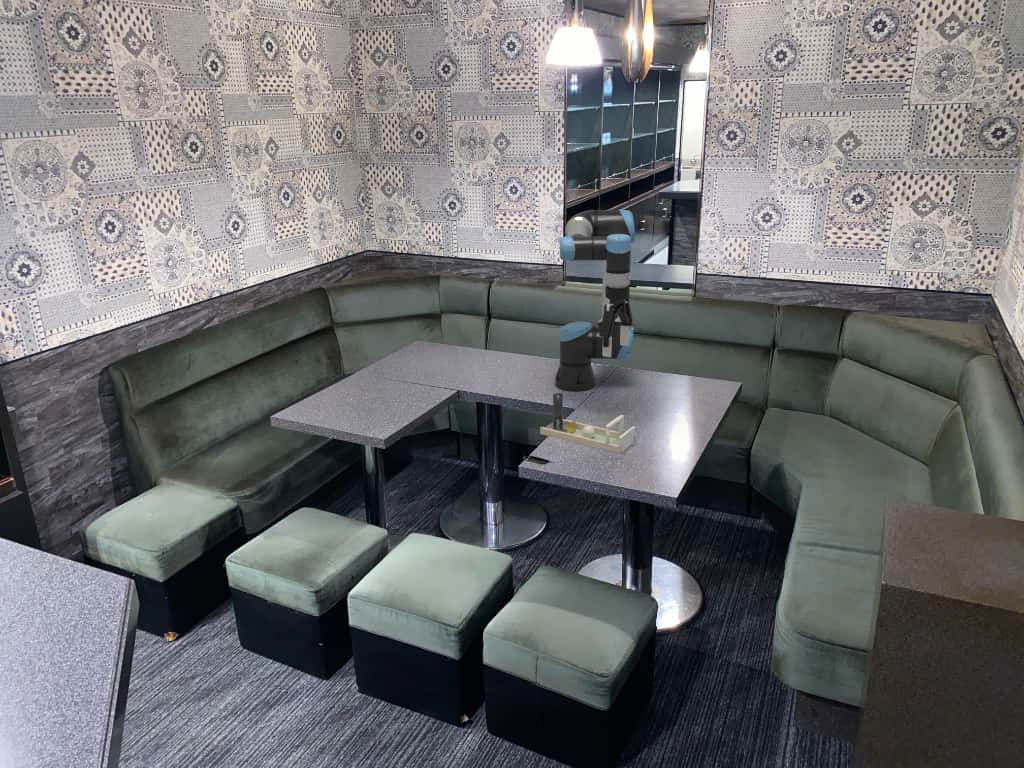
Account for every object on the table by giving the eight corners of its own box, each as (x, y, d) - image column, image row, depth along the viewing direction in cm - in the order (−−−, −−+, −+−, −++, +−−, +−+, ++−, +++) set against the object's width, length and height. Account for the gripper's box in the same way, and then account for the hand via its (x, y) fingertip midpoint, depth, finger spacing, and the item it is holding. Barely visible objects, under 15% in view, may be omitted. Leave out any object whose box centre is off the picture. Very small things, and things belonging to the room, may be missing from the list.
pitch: (540, 437, 247) (539, 410, 244) (556, 426, 255) (556, 400, 252) (620, 457, 232) (620, 429, 229) (634, 445, 240) (636, 418, 237)
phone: (521, 457, 232) (546, 439, 244) (521, 460, 233) (546, 442, 244) (544, 462, 228) (568, 444, 240) (544, 466, 229) (568, 447, 240)
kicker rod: (543, 431, 248) (542, 396, 244) (553, 424, 253) (553, 389, 249) (566, 436, 244) (566, 401, 240) (576, 429, 249) (577, 394, 245)
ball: (579, 438, 243) (579, 426, 241) (585, 434, 246) (585, 422, 244) (590, 441, 241) (591, 429, 239) (597, 437, 244) (597, 425, 242)
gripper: (612, 294, 231) (610, 363, 238) (644, 278, 251) (641, 342, 258) (589, 292, 234) (588, 359, 241) (622, 276, 254) (620, 339, 262)
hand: (615, 350), depth 250 cm, fingers open, 13 cm apart
